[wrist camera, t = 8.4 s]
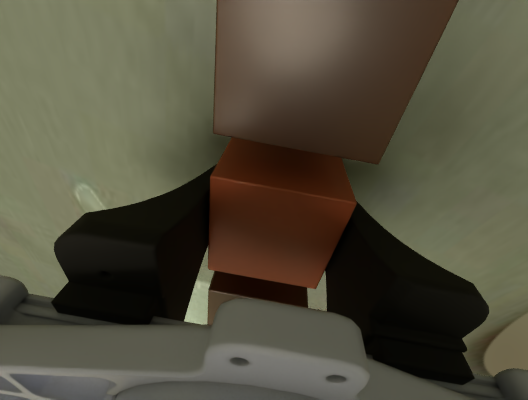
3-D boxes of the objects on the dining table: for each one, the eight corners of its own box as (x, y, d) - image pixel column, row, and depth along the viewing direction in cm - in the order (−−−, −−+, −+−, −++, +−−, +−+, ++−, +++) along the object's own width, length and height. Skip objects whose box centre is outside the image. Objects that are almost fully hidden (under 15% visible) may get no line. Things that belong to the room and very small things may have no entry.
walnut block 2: (401, -33, 8) (501, -86, 4) (348, 114, 11) (378, 165, 7) (256, -61, 8) (220, -140, 4) (241, 94, 11) (212, 134, 7)
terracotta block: (310, 218, 15) (316, 289, 11) (230, 203, 15) (207, 270, 11) (337, 143, 12) (358, 203, 8) (237, 124, 12) (209, 175, 8)
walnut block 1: (305, 236, 16) (308, 308, 12) (288, 281, 19) (287, 351, 15) (230, 222, 16) (208, 289, 12) (225, 270, 19) (206, 337, 15)
